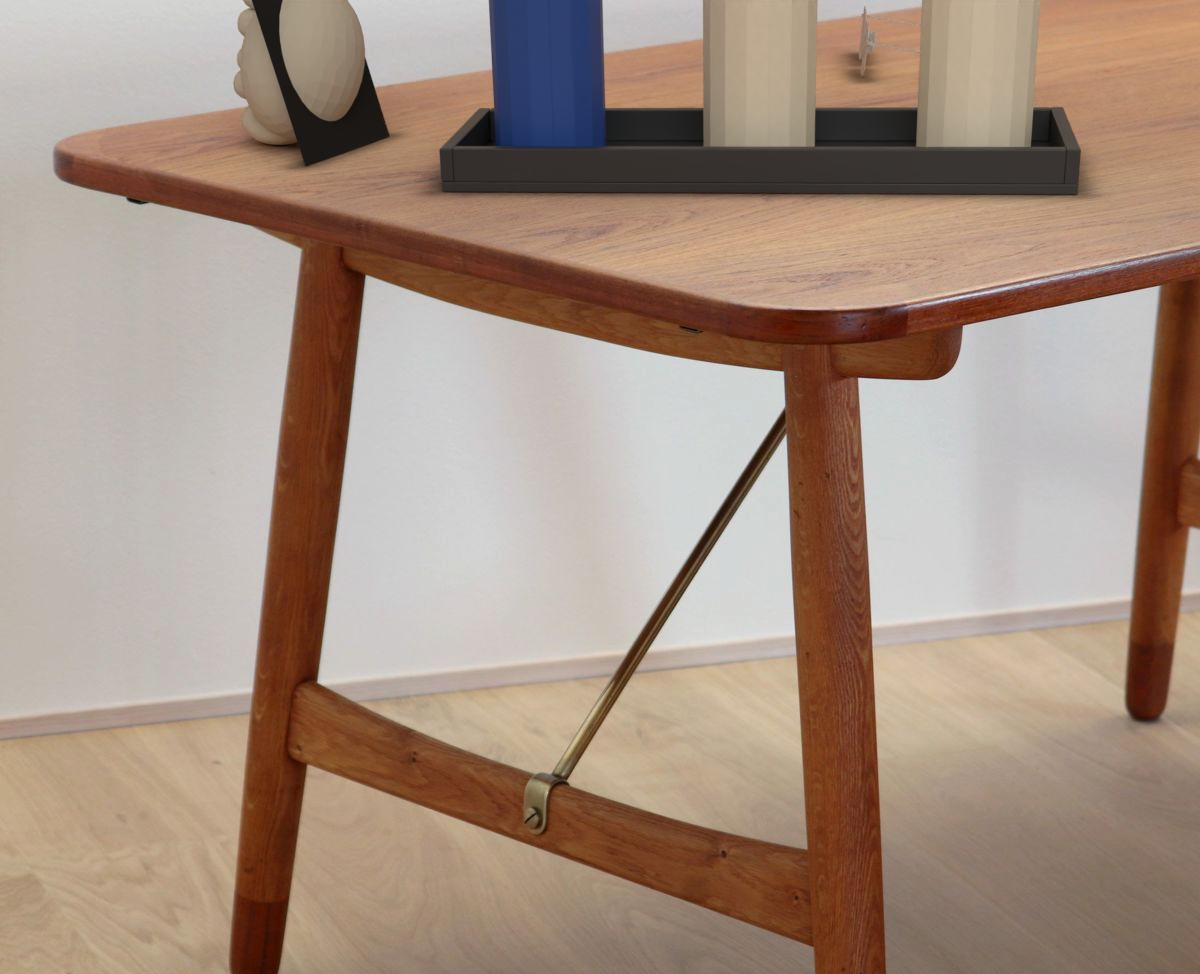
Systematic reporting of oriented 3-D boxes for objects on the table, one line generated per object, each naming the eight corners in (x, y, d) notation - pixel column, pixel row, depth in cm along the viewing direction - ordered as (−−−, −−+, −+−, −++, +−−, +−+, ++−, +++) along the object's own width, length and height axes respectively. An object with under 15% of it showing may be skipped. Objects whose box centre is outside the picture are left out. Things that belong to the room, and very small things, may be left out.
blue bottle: (627, 159, 121) (621, -122, 114) (540, 176, 117) (528, -112, 110) (562, 143, 125) (552, -127, 118) (476, 159, 122) (461, -118, 115)
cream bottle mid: (836, 169, 119) (844, -114, 112) (755, 187, 115) (757, -105, 108) (762, 152, 124) (764, -120, 117) (681, 169, 120) (679, -111, 113)
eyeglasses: (857, 52, 157) (862, 1, 156) (956, 59, 157) (962, 8, 155) (861, 83, 145) (867, 28, 143) (968, 90, 144) (975, 36, 143)
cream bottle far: (1051, 170, 117) (1072, -118, 110) (976, 188, 114) (992, -109, 107) (967, 153, 122) (982, -124, 115) (892, 170, 118) (902, -115, 111)
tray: (1060, 148, 123) (1063, 106, 122) (1077, 194, 111) (1081, 149, 110) (481, 147, 128) (479, 107, 127) (441, 191, 116) (438, 148, 115)
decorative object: (219, 189, 128) (306, 159, 136) (339, 157, 122) (422, 127, 130) (153, -5, 124) (247, -24, 132) (274, -47, 119) (364, -65, 127)
